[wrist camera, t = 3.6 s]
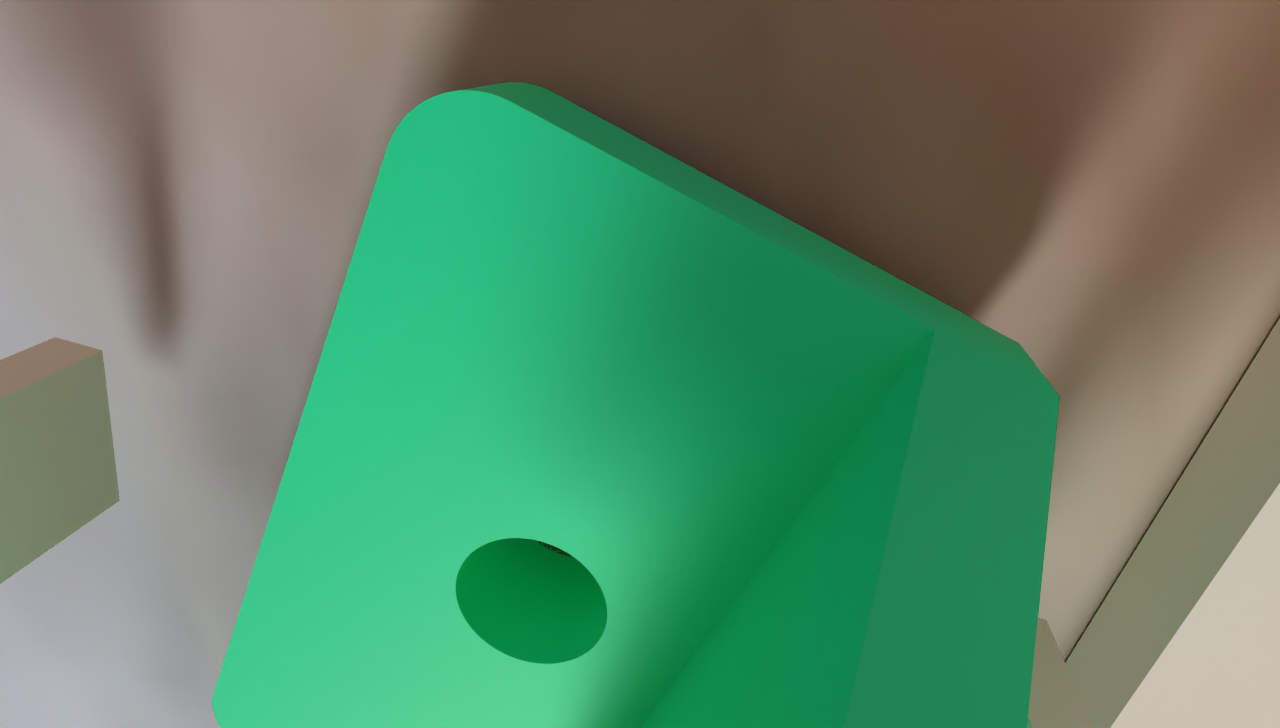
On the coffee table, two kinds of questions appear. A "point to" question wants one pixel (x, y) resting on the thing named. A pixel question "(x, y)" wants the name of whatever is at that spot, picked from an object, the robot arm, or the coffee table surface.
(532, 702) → the camera mount
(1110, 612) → the stub plate
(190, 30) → the coffee table surface
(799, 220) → the coffee table surface
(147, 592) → the coffee table surface
